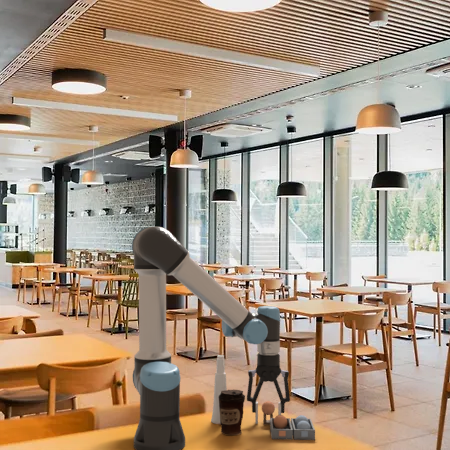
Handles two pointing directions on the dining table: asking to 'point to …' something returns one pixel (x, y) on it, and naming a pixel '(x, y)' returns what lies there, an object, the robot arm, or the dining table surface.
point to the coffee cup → (231, 411)
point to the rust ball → (280, 422)
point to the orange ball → (268, 408)
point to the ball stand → (266, 422)
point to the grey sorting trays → (292, 431)
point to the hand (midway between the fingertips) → (268, 422)
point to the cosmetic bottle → (218, 387)
